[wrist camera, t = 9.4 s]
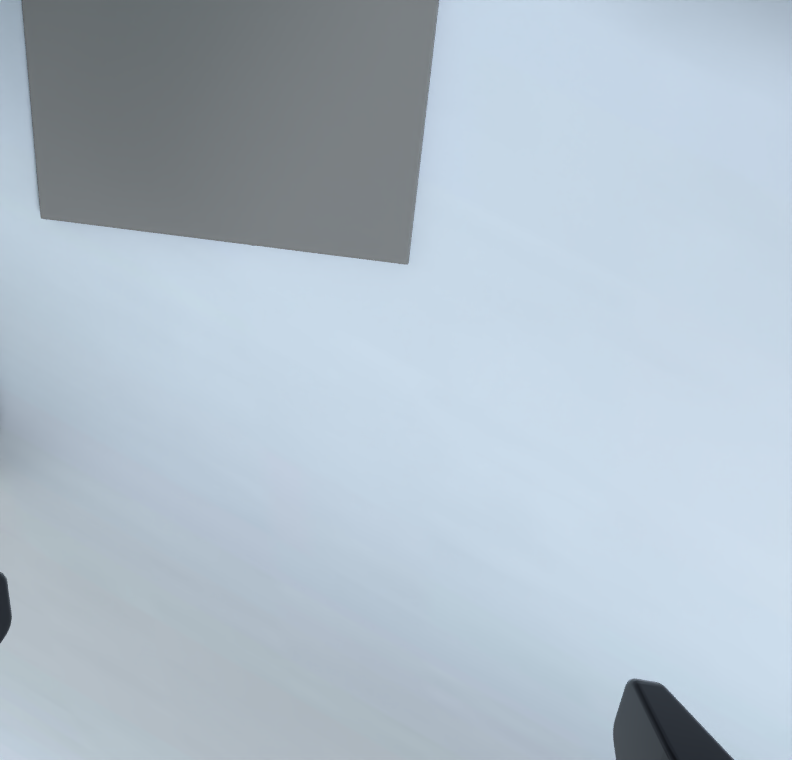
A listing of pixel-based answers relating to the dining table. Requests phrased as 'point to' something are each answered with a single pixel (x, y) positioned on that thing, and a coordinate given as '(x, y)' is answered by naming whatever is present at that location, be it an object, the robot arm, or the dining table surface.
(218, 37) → the mat
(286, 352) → the dining table surface
